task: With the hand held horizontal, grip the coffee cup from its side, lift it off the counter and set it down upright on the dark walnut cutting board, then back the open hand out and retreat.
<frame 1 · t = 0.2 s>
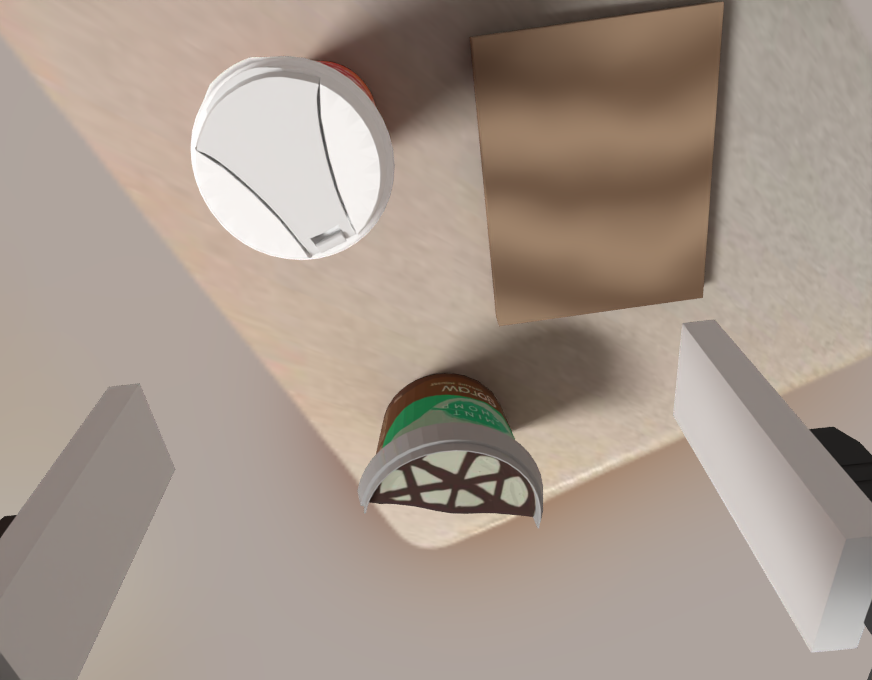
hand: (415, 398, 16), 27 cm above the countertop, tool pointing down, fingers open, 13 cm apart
walnut board: (592, 175, 41), on the countertop
coffee cup: (326, 113, 39), on the countertop
food container: (449, 393, 48), on the countertop
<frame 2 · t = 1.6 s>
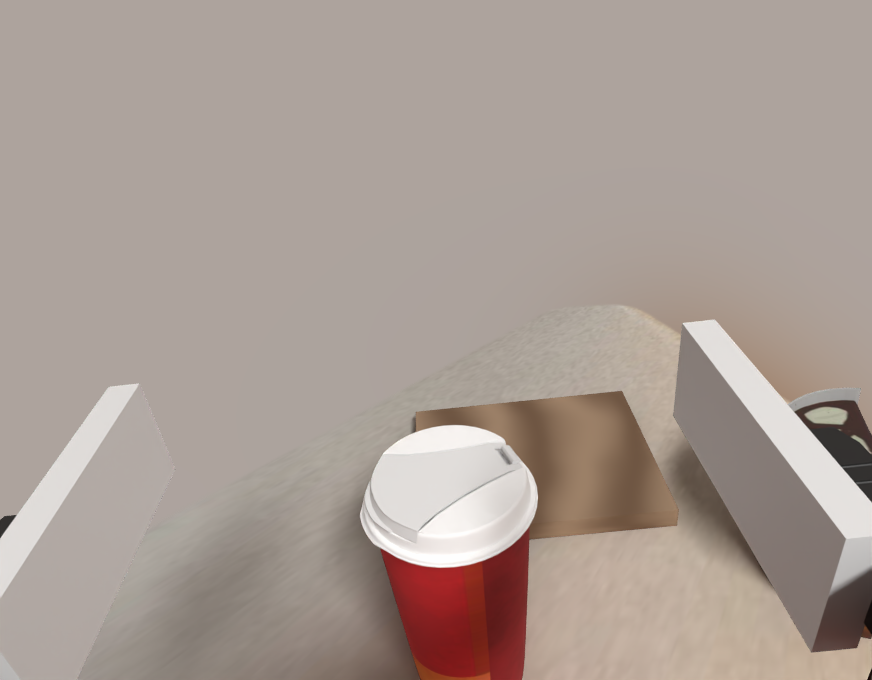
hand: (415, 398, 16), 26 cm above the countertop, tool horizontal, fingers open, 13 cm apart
walnut board: (531, 469, 51), on the countertop
coffee cup: (470, 670, 37), on the countertop
food container: (793, 566, 41), on the countertop
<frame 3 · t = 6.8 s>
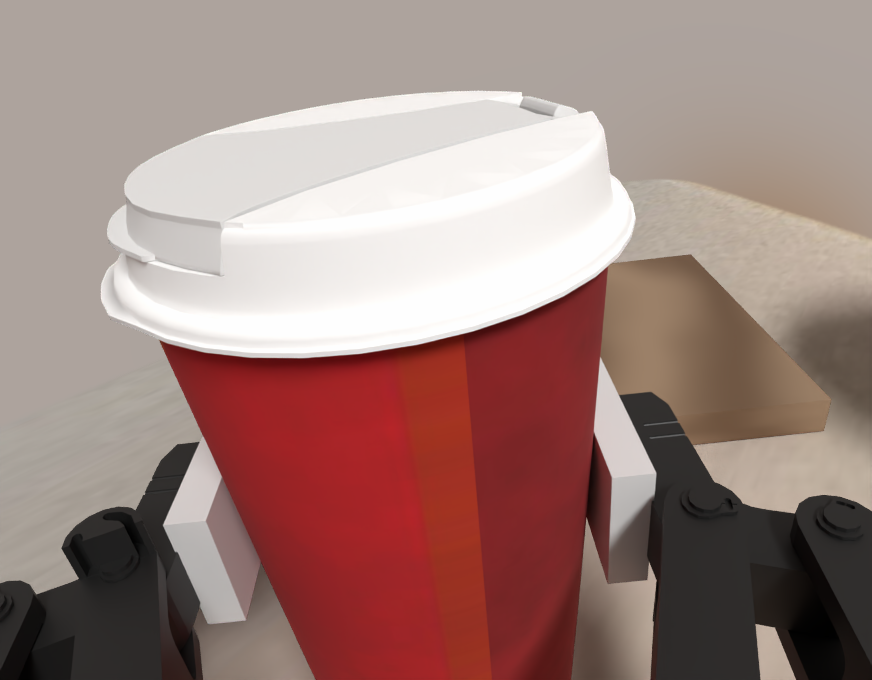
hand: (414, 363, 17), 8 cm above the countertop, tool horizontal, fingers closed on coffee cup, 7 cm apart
walnut board: (556, 360, 31), on the countertop
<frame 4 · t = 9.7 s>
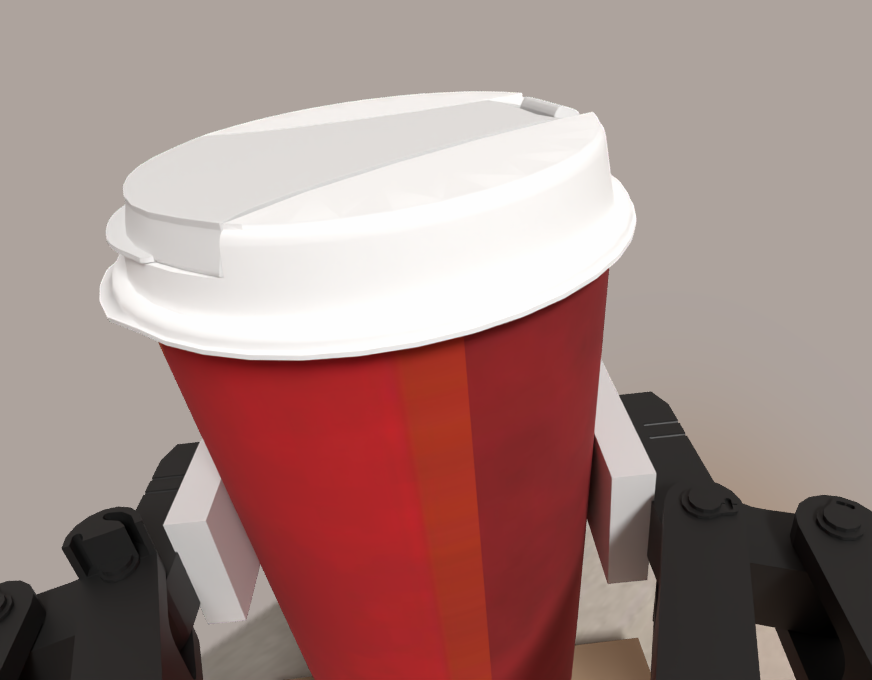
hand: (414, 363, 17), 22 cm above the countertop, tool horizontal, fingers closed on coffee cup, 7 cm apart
when the fingers open (10 cm above the countertop, at t = 12.5 s): coffee cup stays where it is, resting on walnut board.
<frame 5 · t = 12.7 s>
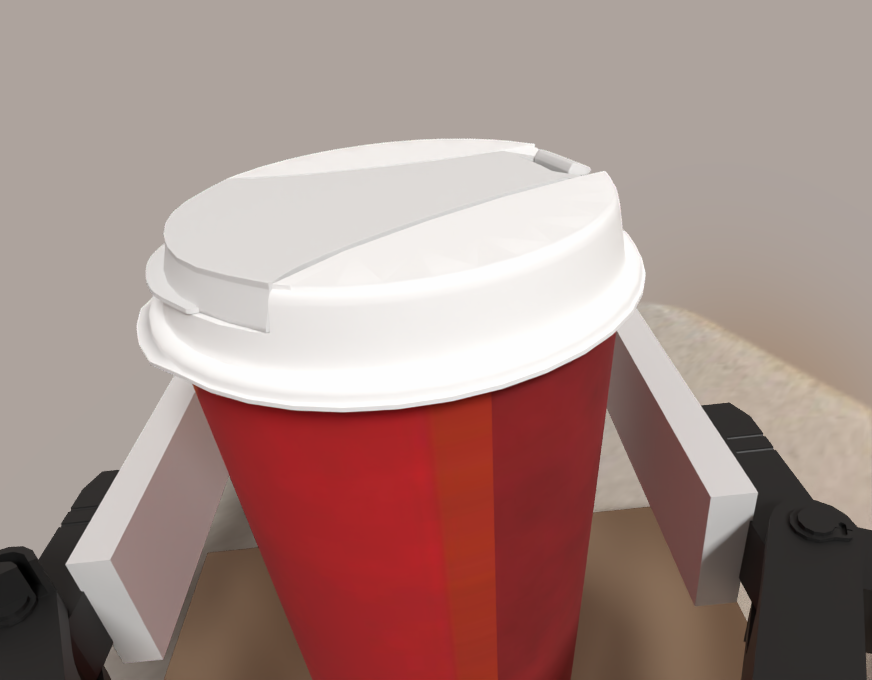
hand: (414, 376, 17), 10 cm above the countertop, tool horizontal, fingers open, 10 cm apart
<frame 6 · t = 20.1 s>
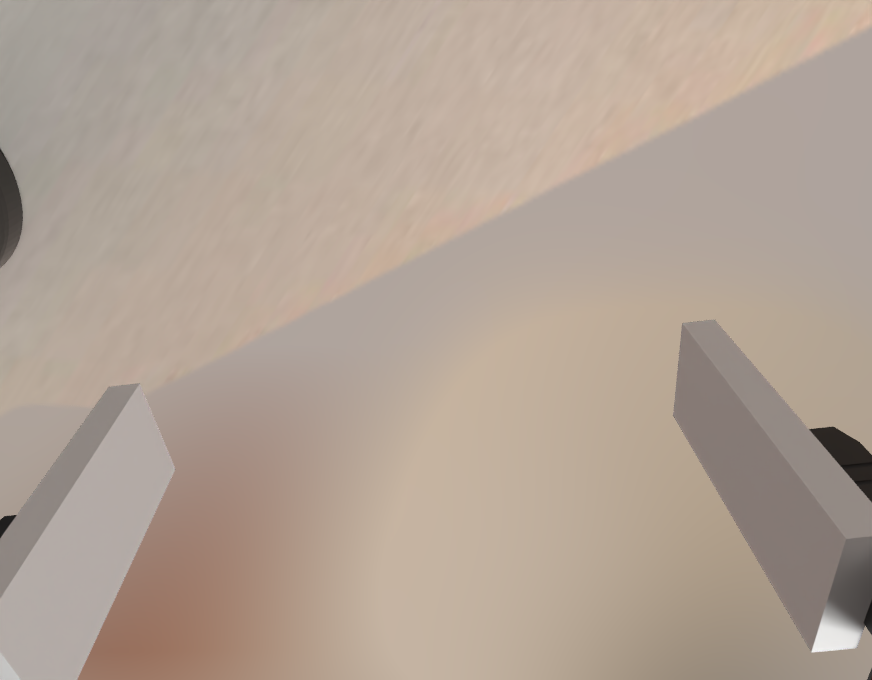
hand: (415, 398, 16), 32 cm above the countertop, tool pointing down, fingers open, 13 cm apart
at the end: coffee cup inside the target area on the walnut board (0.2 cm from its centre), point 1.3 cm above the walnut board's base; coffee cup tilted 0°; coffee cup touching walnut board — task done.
